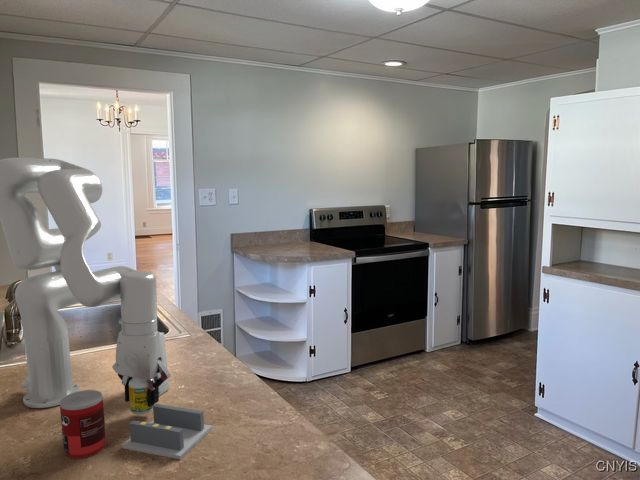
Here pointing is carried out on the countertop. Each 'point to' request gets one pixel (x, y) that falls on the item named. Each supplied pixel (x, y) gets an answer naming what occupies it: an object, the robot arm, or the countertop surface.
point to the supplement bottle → (138, 396)
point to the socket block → (168, 432)
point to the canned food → (83, 423)
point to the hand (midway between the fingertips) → (141, 400)
